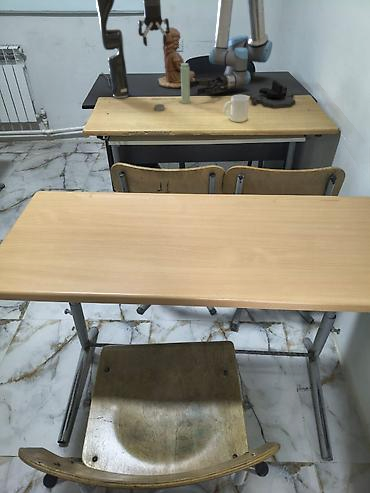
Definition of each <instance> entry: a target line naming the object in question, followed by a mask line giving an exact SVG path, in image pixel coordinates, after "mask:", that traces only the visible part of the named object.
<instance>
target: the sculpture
mask: <svg viewBox="0 0 370 493" xmlns="http://www.w3.org/2000/svg"><path fill="white" fill-rule="evenodd" d="M169 31H170V33H169V34H167V35H166V43H165V45H163V44H162V50H163V61H164V71H165V73H164V75H165V76H163V77H159V78H158V79H157V80H158V84H159V86H161V87H163V88H168V89H169V88H181V64H182V63H185V60H184V58H183V57H182V56H183V55H180V53H179V52H178V51H177V50H178V49H179V46H180V40H181V33H180V32H179V30H178V29H177V28H174V27H170V26H169ZM189 74H190V82H191V81H195V79H196V78H195V76H196V74H195V72H194V71H192V70H189Z"/></svg>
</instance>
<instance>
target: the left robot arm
mask: <svg viewBox="0 0 370 493" xmlns="http://www.w3.org/2000/svg"><path fill="white" fill-rule="evenodd" d="M95 2H96V8H97V12H98V19H99V27H100V36H101V43H102V47H103V49H104V50H106V51H116V50H117V52H116V53H115V54H113V55H111V56H109V57H108V58H107V64H108V70H109V75H110V78H109V76H108V75H106V74H105V73H104V72H101V73H100V76H102V75H103V77H105V78H106V79H107V83H108V86H109V87H110V88H111V89H112V97H113V98H114V99H125V98H128V97H130V90H129V89H130V88H129V82H128V81H129V79H128V74H127V66H126V65H127V64H126V57H125V49H124V36H123V32H122V30H121V29H118V28H117V29H108V28H107V27H108V26H107V25H108V21H109V17H110V14H111V11H112V9H113V7H114V4H115V0H95ZM142 4H143V14H144V20H141V19H138V20H137V29H138V30H137V31H138V35H139V36H140V37H142V42H143V43H142V44H143V45H144V47H148V40H147V39H148V38H147V35H148V34H149V33H150V32H153V31H158V30H159V31H160V33H161V34H162V35H161V41H162V42H161V43H162V46H163V45H165V43H166V35H167V34H169V33H170V31H169V28H170V22H169V18H168V17H165V18H162V5H161V0H142ZM162 24H164V26H165V30H164V28H163V27H162ZM144 25H145V28H144V30H143V26H144Z"/></svg>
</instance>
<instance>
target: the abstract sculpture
mask: <svg viewBox="0 0 370 493" xmlns="http://www.w3.org/2000/svg"><path fill="white" fill-rule="evenodd" d="M294 96H295V94H294V93H293V91H291V90H289V91H288V87H287V86H283V84H282V83H280V82H279V81H277V80H276V79H275V80H274V79H273V80H272V84H271V88H269V87H261V88H260V89H259V90H258V92H255V93H251V94H249V100H251V104H252V106H257V104H258V105H260V104H262V106H263V107H267V108H272V109H279V108H280V109H281V108H291V107H292V106H294V105H295V104H296V100H295V98H294Z"/></svg>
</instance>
